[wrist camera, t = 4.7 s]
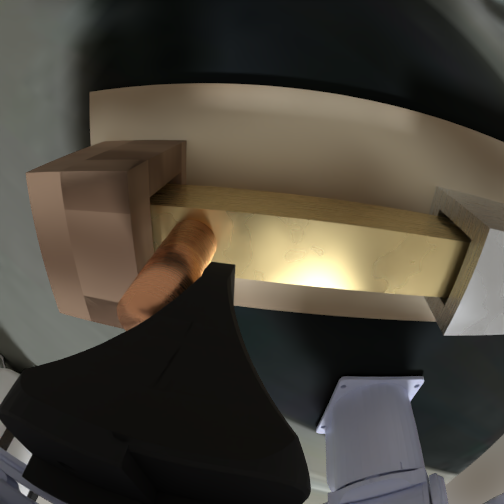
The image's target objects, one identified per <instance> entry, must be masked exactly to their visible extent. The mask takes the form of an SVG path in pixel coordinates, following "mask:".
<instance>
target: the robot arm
mask: <svg viewBox="0 0 504 504" xmlns="http://www.w3.org/2000/svg"><path fill="white" fill-rule="evenodd" d="M235 266H236V265H235V264H227V263H218V262H210V263H209V265H208V266H207V267H206V268H205V270H204V271H203V273H202V276H201V277H199V278H198V279H197V280H196V281H195V282H194V283H193V284H192V285H191V286H189V287H188V288H187V289H186V290H185V291H184V292H182V293H181V294H180V295H179V296H178V297H176V298H175V299H174V300H173V301H171V302H170V303H169V304H167V305H166V306H165V307H163V308H162V309H161V310H160V311H158V312H157V313H155V314H154V315H152V316H151V317H150V318H148V319H146V320H145V321H143V322H142V323H140V324H138V325H137V326H135V327H133V328H131V329H130V330H128V331H126V332H124V333H122V334H120V335H118V336H116V337H114V338H112V339H110V340H108V341H106V342H104V343H102V344H100V345H98V346H95V347H93V348H90V349H88V350H86V351H83V352H80V353H78V354H75V355H72V356H70V357H67V358H64V359H61V360H57V361H54V362H50V363H47V364H43V365H39V366H36V367H32V368H28V369H24V370H23V372H22V373H21V374H20V376H19V377H18V379H17V380H16V381H15V383H14V384H13V386H12V387H11V389H10V390H9V392H8V393H7V395H6V396H5V398H4V399H3V401H2V403H1V404H0V420H1V422H2V423H3V424H4V426H5V427H6V428H7V429H8V430H9V431H10V432H11V433H12V434H13V436H14V437H15V438H16V439H17V440H18V441H19V442H20V443H21V444H22V445H23V446H24V447H25V448H27V449H28V450H29V451H30V452H31V453H32V456H31V458H30V460H29V462H28V464H27V465H26V464H25V463H23V462H22V461H20V460H19V459H17V458H15V457H14V456H12V455H11V454H9V453H8V452H6V451H5V450H4V449H2V448H1V447H0V504H38V503H37V502H35V501H33V500H32V499H30V498H28V497H27V496H25V495H24V494H22V493H21V491H20V489H19V485H18V483H20V484H21V485H23V486H24V487H26V488H27V489H29V490H31V491H32V492H34V493H35V494H37V495H39V496H41V497H42V498H44V499H46V500H48V501H49V502H51V503H53V504H302V503H303V502H304V501H305V500H306V499H307V498H308V497H309V495H310V492H311V486H310V477H309V471H308V467H307V463H306V460H305V456H304V453H303V450H302V447H301V444H300V441H299V438H298V436H297V435H296V433H295V432H294V431H293V429H292V428H291V427H290V425H289V424H288V423H287V421H286V420H285V418H284V417H283V416H282V414H281V413H280V411H279V410H278V408H277V407H276V405H275V403H274V402H273V400H272V399H271V397H270V395H269V394H268V392H267V390H266V389H265V387H264V385H263V383H262V381H261V379H260V377H259V375H258V373H257V371H256V369H255V368H254V366H253V363H252V361H251V359H250V356H249V354H248V352H247V349H246V347H245V344H244V341H243V339H242V336H241V333H240V329H239V326H238V322H237V319H236V315H235V310H234V287H235ZM423 382H424V377H423V376H403V377H359V376H344V377H341V378H340V379H339V381H338V383H337V386H336V388H335V390H334V392H333V395H332V397H331V399H330V401H329V403H328V405H327V408H326V410H325V412H324V414H323V416H322V418H321V420H320V422H319V424H318V426H317V428H316V432H317V433H319V434H326V471H327V484H328V486H329V488H330V490H331V491H332V492H330V493H328V502H326V503H323V504H448V499H447V493H446V488H445V483H444V478H443V477H442V476H439V475H437V474H436V473H434V474H432V475H430V476H429V478H428V475H427V472H426V470H425V466H424V460H423V455H422V451H421V446H420V441H419V437H418V432H417V428H416V424H415V419H414V415H413V411H412V407H411V403H410V401H411V400H412V398H413V397H414V395H415V394H416V393H417V391H418V390H419V388H420V387H421V385H422V384H423ZM16 481H17V482H18V483H17V482H16ZM429 481H430V483H429ZM484 504H504V493H502V494H500V495H498V496H496V497H494V498H492V499H490V500H489V501H487V502H485V503H484Z"/></svg>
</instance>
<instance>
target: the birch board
mask: <svg viewBox="0 0 504 504" xmlns="http://www.w3.org/2000/svg"><path fill="white" fill-rule="evenodd" d="M90 140H91V146H92V145H95V144H98V143H101V142H104V141H123V140H187V146H186V185H199V186H212V187H225V188H237V189H248V190H259V191H269V192H278V193H287V194H296V195H305V196H313V197H321V198H329V199H336V200H343V201H350V202H357V203H364V204H371V205H377V206H383V207H389V208H396V209H401V210H407V211H413V212H419V213H424V214H429V212H430V209H431V205H432V201H433V197H434V193H435V189H436V186H439V187H443V188H447V189H451V190H455V191H459V192H463V193H467V194H471V195H475V196H478V197H482V198H486V199H489V200H493V201H496V202H500V203H503V204H504V142H502V141H500V140H497V139H495V138H492V137H490V136H487V135H485V134H482V133H480V132H477V131H474V130H472V129H469V128H466V127H463V126H461V125H458V124H455V123H452V122H449V121H446V120H443V119H440V118H436V117H433V116H430V115H426V114H423V113H419V112H416V111H412V110H408V109H405V108H401V107H397V106H393V105H388V104H384V103H380V102H375V101H371V100H366V99H361V98H356V97H350V96H345V95H339V94H333V93H326V92H320V91H312V90H304V89H296V88H287V87H276V86H264V85H248V84H220V83H191V84H163V85H147V86H135V87H125V88H116V89H108V90H100V91H93V92H90ZM234 305H235V306H244V307H252V308H261V309H270V310H279V311H288V312H299V313H309V314H320V315H332V316H345V317H358V318H373V319H390V320H410V321H436V319H435V317H434V315H433V313H432V312H431V310H430V308H429V306H428V304H427V302H426V300H425V298H424V296H416V295H403V294H391V293H379V292H367V291H356V290H345V289H335V288H324V287H314V286H304V285H295V284H285V283H276V282H267V281H258V280H249V279H240V278H235V287H234ZM436 322H437V321H436Z"/></svg>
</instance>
